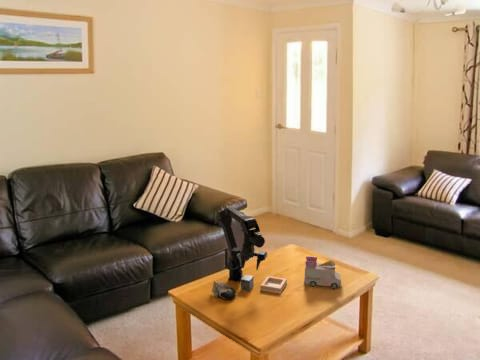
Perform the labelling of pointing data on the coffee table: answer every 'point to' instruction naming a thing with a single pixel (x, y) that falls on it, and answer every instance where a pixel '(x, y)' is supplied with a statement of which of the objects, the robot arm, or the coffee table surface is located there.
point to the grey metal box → (247, 282)
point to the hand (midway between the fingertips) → (248, 268)
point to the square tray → (273, 284)
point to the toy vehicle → (321, 273)
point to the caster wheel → (223, 291)
